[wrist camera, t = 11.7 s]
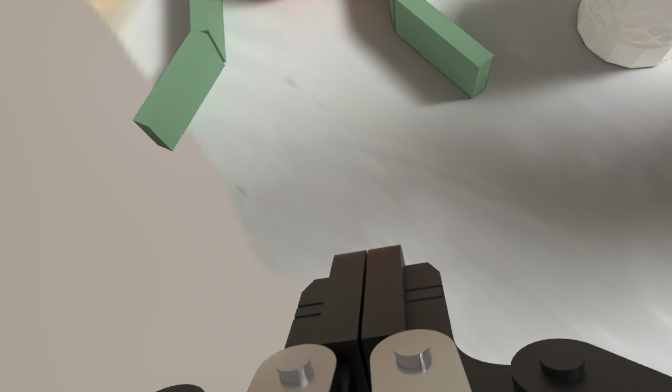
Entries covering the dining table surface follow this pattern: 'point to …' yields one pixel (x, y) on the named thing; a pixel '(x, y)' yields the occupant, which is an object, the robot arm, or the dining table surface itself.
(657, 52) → the white cup
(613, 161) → the dining table surface
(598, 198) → the dining table surface
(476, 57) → the putting stall
